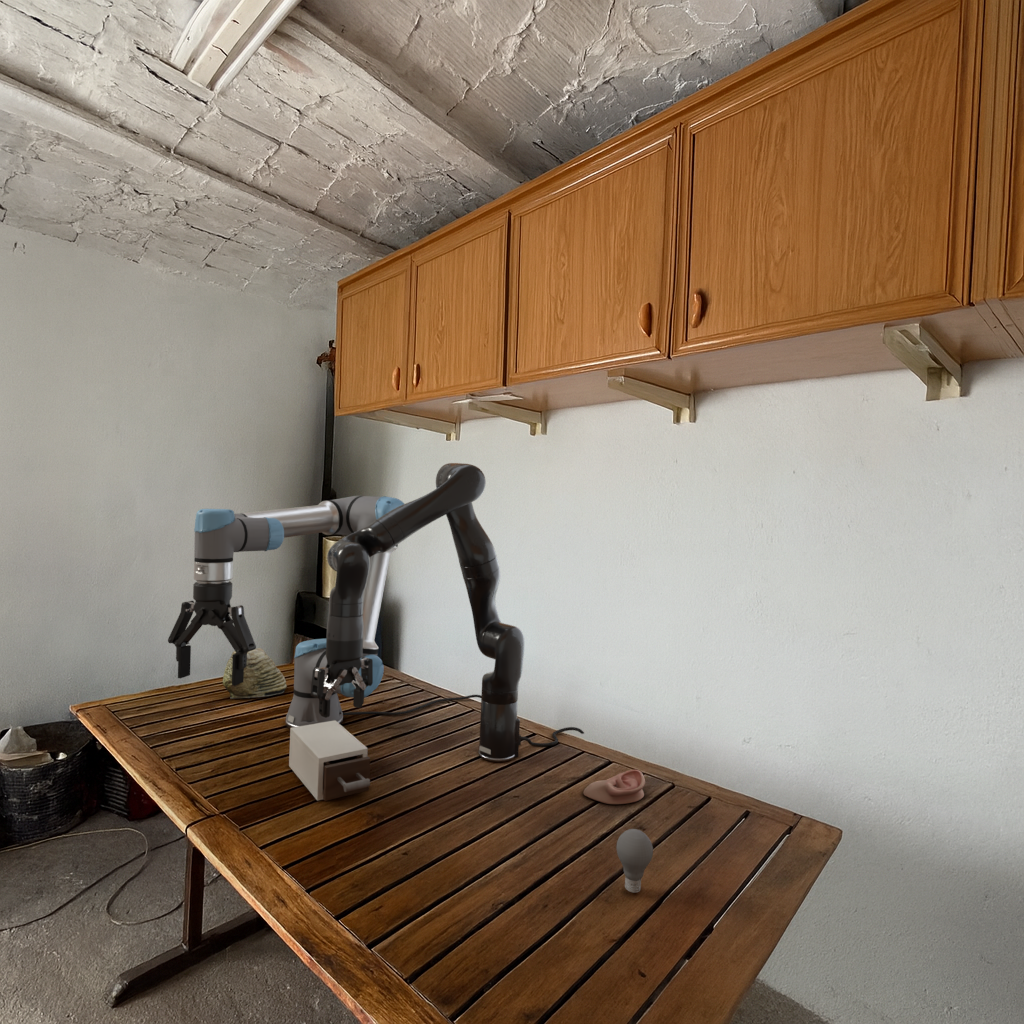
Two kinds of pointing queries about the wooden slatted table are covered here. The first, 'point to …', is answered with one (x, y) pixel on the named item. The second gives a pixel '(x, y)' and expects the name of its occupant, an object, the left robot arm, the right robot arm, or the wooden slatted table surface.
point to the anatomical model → (618, 788)
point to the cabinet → (320, 751)
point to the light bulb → (634, 857)
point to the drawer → (345, 777)
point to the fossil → (255, 677)
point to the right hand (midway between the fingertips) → (341, 711)
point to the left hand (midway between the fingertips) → (210, 680)
